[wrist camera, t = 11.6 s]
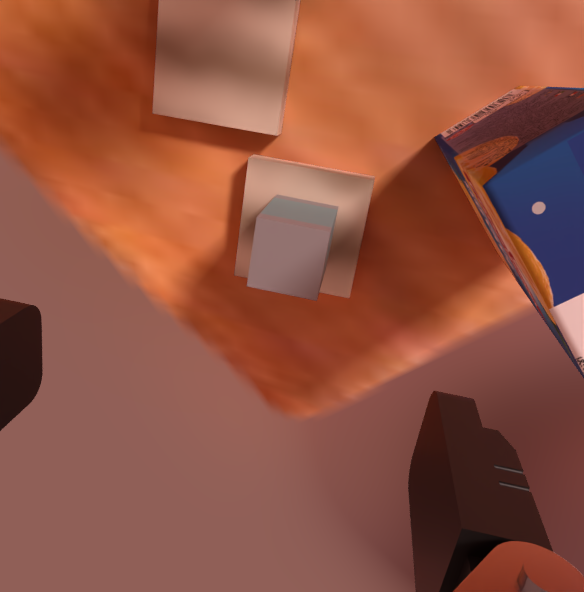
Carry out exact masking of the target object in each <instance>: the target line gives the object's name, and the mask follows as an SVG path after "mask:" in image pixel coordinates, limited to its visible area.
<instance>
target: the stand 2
mask: <svg viewBox="0 0 584 592" xmlns="http://www.w3.org/2000/svg"><path fill="white" fill-rule="evenodd" d="M374 180H375V176H371V175H365V174H360V173H354V172H349V171H343V170H338V169H332V168H327V167H321V166H316V165H310V164H305V163H299V162H294V161H288V160H283V159H277V158H272V157H266V156H261V155H255V154H253V155H252V156H250V157H249V158H248V166H247V174H246V182H245V190H244V198H243V207H242V215H241V223H240V231H239V239H238V247H237V255H236V263H235V272H234V275H235V276H240V277H245V278H248V274H249V267H250V260H251V253H252V246H253V239H254V232H255V225H256V218H257V216H258V215H259V214H260V213H261V212H262V211H263V210H264V208H265V207H266V206H267V205H268V204H269V203H270V202H271V201H272V200H273V198H274V197H275V196H276V195H282V196H287V197H293V198H298V199H303V200H308V201H313V202H318V203H323V204H328V205H334V206H339V207H338V212H337V217H336V222H335V227H334V232H333V237H332V242H331V247H330V252H329V257H328V262H327V267H326V270H325V274H324V277H323V281H322V284H321V288H320V291H319V292H320V293H325V294H330V295H335V296H340V297H345V298H350V294H351V289H352V284H353V280H354V275H355V270H356V265H357V261H358V256H359V251H360V246H361V242H362V237H363V232H364V228H365V223H366V218H367V213H368V209H369V204H370V199H371V195H372V190H373V185H374Z"/></svg>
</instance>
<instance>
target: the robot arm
mask: <svg viewBox="0 0 584 592" xmlns="http://www.w3.org/2000/svg"><path fill="white" fill-rule="evenodd" d="M41 380H42V325H41V314H40V311H39V309H38V308H37V307H36V306H34V305H29V304H25V303H20V302H15V301H10V300H6V299H0V431H1V430H2V428H4V427H5V426H6V425H7V424H8V423H9V422H10V421H11V420H12V419H13V418H15V417H16V416H17V415H18V414H19V413H20V412H21V411H22V410H23V409H24V408H25V407H26V406H28V405H29V404H30V403H31V402H32V400H33V399H34V397H35V396H36V394H37V392H38V390H39V387H40V384H41ZM408 484H409V485H408V486H409V487H408V489H409V490H408V491H409V504H410V518H411V531H412V546H413V559H414V574H415V588H416V592H584V576H583V575H582V574H581V573H580V572H579V571H578V570H577V569H576V568H575V567H574V566H573V565H571V564H570V563H569V562H568V561H566V560H565V559H563V558H562V557H560V556H559V555H557V554H556V553H554V552H553V550H552V548H551V545H550V542H549V539H548V537H547V534H546V531H545V528H544V526H543V523H542V520H541V518H540V515H539V512H538V509H537V507H536V504H535V501H534V499H533V496H532V493H531V492H529V485H528V482H527V480H526V477H525V475H523V469H522V467H521V463H520V461H519V458H518V456H517V453H516V450H515V449H514V448H513V447H512V446H511V445H510V444H509V442H508V441H507V440H506V439H505V438H504V437H503V436H502V435H501V433H500V432H499V431H497V430H493V429H488V428H483V427H482V424H481V420H480V417H479V414H478V410H477V407H476V404H475V401H474V399H471V398H467V397H462V396H457V395H453V394H448V393H443V392H438V391H433V393H432V394H431V396H430V399H429V402H428V405H427V408H426V412H425V416H424V419H423V422H422V425H421V429H420V432H419V436H418V439H417V442H416V446H415V449H414V453H413V456H412V460H411V465H410V472H409V482H408Z"/></svg>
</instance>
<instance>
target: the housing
mask: <svg viewBox="0 0 584 592" xmlns="http://www.w3.org/2000/svg"><path fill="white" fill-rule="evenodd" d="M338 207H339V206H334V205H328V204H323V203H318V202H313V201H308V200H303V199H298V198H293V197H287V196H282V195H276V196H275V197H274V198H273V200H272V201H271V202H270V203H269V204H268V205H267V206H266V207H265V208H264V210H263V211H262V212H261V213H260V214H259V215H258V216H257V218H256V225H255V232H254V239H253V246H252V253H251V260H250V267H249V274H248V281H247V286H248V287H253V288H258V289H262V290H267V291H272V292H277V293H281V294H286V295H291V296H296V297H301V298H305V299H310V300H315V301H317V299H318V295H319V291H320V288H321V284H322V281H323V277H324V274H325V270H326V267H327V262H328V257H329V252H330V247H331V242H332V237H333V232H334V227H335V222H336V217H337V212H338Z"/></svg>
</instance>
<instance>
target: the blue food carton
mask: <svg viewBox="0 0 584 592" xmlns="http://www.w3.org/2000/svg"><path fill="white" fill-rule="evenodd" d="M434 138H435V140H436V142H437V143H438V145H439V147H440V149H441V151H442V153H443V154H444V156H445V158H446V160H447V162H448V164H449V165H450V167H451V169H452V171H453V173H454V175H455V176H456V178H457V180H458V182H459V184H460V186H461V187H462V189H463V191H464V193H465V195H466V197H467V198H468V200H469V202H470V204H471V206H472V207H473V209H474V211H475V213H476V215H477V217H478V218H479V220H480V222H481V224H482V226H483V228H484V229H485V231H486V233H487V235H488V237H489V239H490V240H491V242H492V244H493V246H494V248H495V250H496V251H497V253H498V255H499V256H500V257H501V259H502V260H503V262H504V263H505V265H506V266H507V268H508V269H509V270H510V272H511V273H512V275H513V276H514V278H515V279H516V281H517V282H518V284H519V285H520V286H521V288H522V289H523V291H524V292H525V294H526V295H527V297H528V298H529V299H530V301H531V302H532V304H533V305H534V307H535V308H536V310H537V311H538V313H539V314H540V315H541V317H542V318H543V320H544V321H545V323H546V324H547V325H548V327H549V329H550V330H551V331H552V333H553V334H554V336H555V337H556V338H557V340H558V342H559V343H560V344H561V346H562V347H563V349H564V350H565V352H566V353H567V355H568V356H569V358H570V359H571V360H572V362H573V363H574V365H575V366H576V368H577V369H578V371H579V372H580V374H581V375H582V376H583V378H584V88H565V87H537V86H518V87H516V88H514V89H513V90H511V91H509V92H508V93H506V94H504V95H503V96H501V97H500V98H498V99H496V100H495V101H493V102H491V103H490V104H488V105H486V106H485V107H483V108H481V109H480V110H478V111H476V112H475V113H473V114H472V115H470V116H468V117H467V118H465V119H463V120H462V121H460V122H458V123H457V124H455V125H453V126H452V127H450V128H448V129H447V130H445V131H444V132H442V133H440V134H439V135H437V136H435V137H434Z"/></svg>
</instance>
